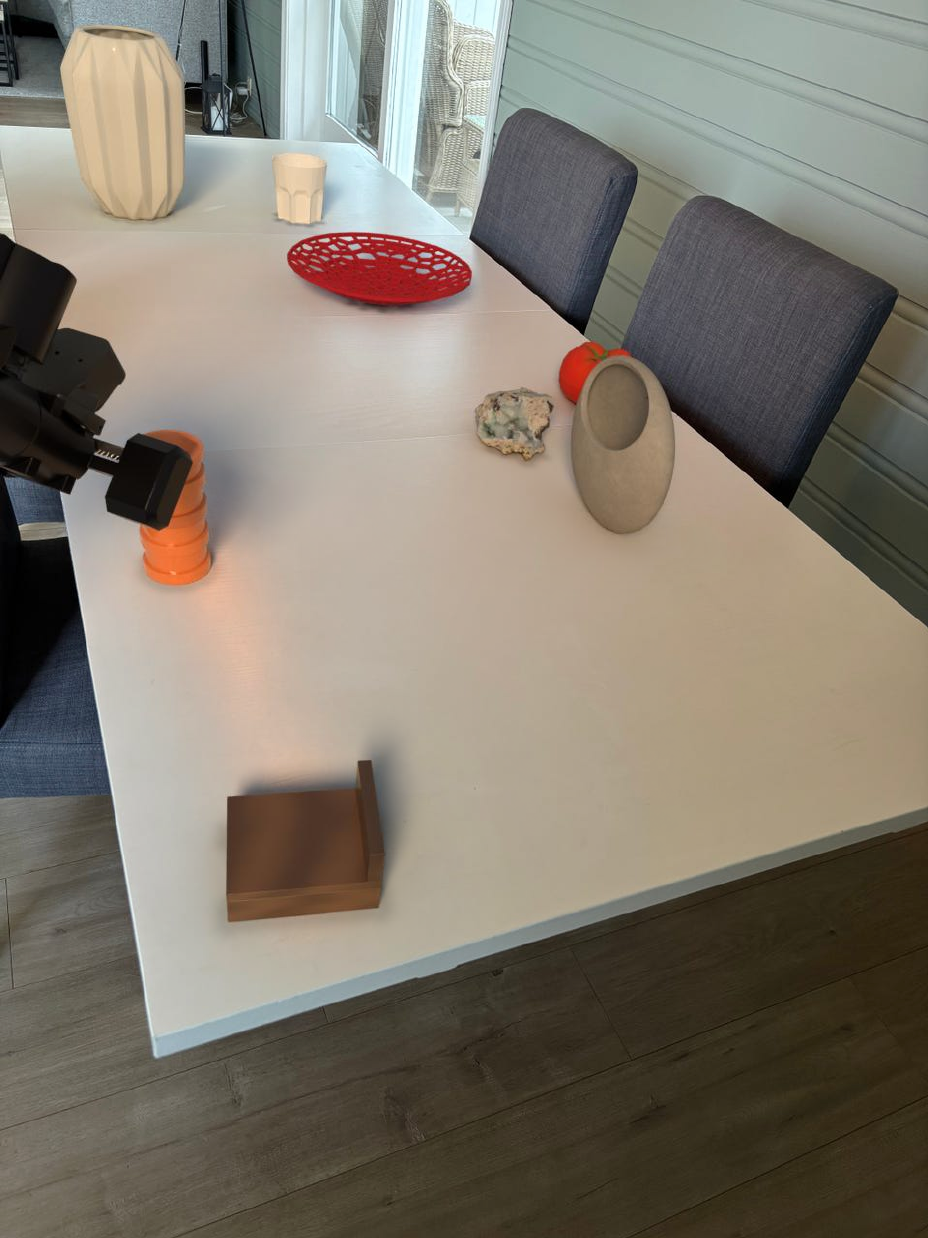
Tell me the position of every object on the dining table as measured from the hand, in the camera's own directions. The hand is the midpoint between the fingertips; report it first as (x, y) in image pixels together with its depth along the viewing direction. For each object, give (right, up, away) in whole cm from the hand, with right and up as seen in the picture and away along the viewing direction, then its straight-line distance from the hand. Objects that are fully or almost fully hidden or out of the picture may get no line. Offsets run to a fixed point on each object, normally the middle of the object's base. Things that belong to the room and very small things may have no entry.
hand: (125, 485), depth 76 cm
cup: (-3, +65, +98) cm, 117 cm away
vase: (-31, +63, +89) cm, 113 cm away
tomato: (+46, +19, +52) cm, 72 cm away
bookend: (+17, -29, -12) cm, 35 cm away
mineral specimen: (+34, +12, +40) cm, 54 cm away
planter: (+44, 0, +28) cm, 52 cm away
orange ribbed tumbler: (+1, -6, +12) cm, 13 cm away
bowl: (+14, +42, +73) cm, 85 cm away
